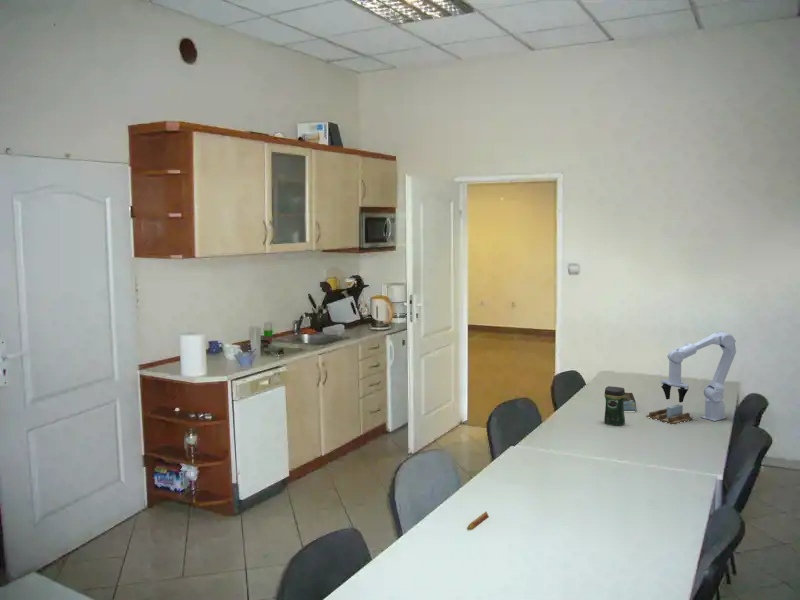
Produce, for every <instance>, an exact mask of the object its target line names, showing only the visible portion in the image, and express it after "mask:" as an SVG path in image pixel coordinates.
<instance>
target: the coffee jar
mask: <svg viewBox="0 0 800 600" xmlns="http://www.w3.org/2000/svg"><path fill="white" fill-rule="evenodd" d="M625 393H626V391H625V387H619V386H612V385H611V386H606V387H605V388H604V398H605V408H604V409H605V410H604V417H603V418H604V419H603V422H604V423H605V424H606V425H609V426H610V425H611V426H623V425H625V423H626V417H625V416H626V415H625V412H624V398H625Z"/></svg>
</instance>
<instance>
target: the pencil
mask: <svg viewBox="0 0 800 600" xmlns="http://www.w3.org/2000/svg"><path fill="white" fill-rule="evenodd" d="M488 518H490V516H489V514H488V513H487V511H485V512H484V513H482V514H481V515H479V516H478V517H477V518H475V519H474V520H472V521H471V522H470V523H469V524H468V526H467V527H466V529H467V530H469V531H470V530H471V531H473V530H474V529H476V528H477V527H478V526H479V525H480V524H482V523H484V521H486V520H487V519H488Z"/></svg>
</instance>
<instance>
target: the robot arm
mask: <svg viewBox="0 0 800 600" xmlns="http://www.w3.org/2000/svg"><path fill="white" fill-rule="evenodd" d="M711 345H717V346H719V347H720V348H721V350H722V354H721V357H720V359H719V362H718V365H717V367H716V370H715V372H714V376H713V377H712V380H710V381H709V382H708V384H707V386H706V387H705V388H704V389H703V395H704V397H705V399H704V400H705V401H704V415H702V416H700V417H702V418H701V419H704V420H705V419H706V420H709V421H714V422H716V421H720V420H724V419H726V418H727V417H726V415H725V411H726V409H725V408H726V404H725V403H724V401H723V399H724V392H725V387H724V384H725V380H726V378H727V375H728V373H729V371H730V369H731V367H732V366H731V365H732V363H733V361H734V359H735V356H736V353H737V349H736V339H735V337H734V336H733V335H732V334H730V333H727V332H724V331H721V330H718V331H716V332H714V333H712V334H710V335H709V336H706V337H704V338H703V339H701V340H699V341H697V342H695V343H685V344H684V345H683V346H681V347H677V348H676V349H671V350H670V351H669V352H668V354H667V356H666V357H667V359H668V362H669V363H668V380H666V379H665V380H664V379H662V380H660V381H661V382H660V385H661V388H662V390H663V393H664V396H665V399H666V400H670V398H671V390H672V387H675V388H677V392H678V402H679V403H683V402H684V399H685V397H686V394H687V392H688V391H689V389H690V386H689V384H687V383H683V382H682V363H683V361H684V359H687V358H688V357H691V356H693V355H696V354H697V352H698V351H699V350H701V349H703V348H706V347H708V346H711Z"/></svg>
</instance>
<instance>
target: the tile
mask: <svg viewBox="0 0 800 600" xmlns="http://www.w3.org/2000/svg"><path fill="white" fill-rule="evenodd" d="M683 407H684V405H682V404H675V405H670V406H666V408H667V419H668V418H669V417H673V416H677V415H681V414H683Z"/></svg>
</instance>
